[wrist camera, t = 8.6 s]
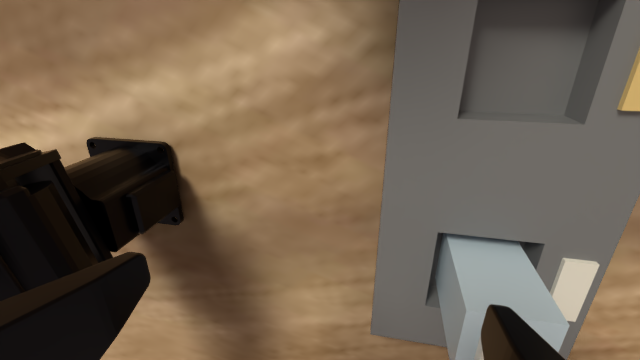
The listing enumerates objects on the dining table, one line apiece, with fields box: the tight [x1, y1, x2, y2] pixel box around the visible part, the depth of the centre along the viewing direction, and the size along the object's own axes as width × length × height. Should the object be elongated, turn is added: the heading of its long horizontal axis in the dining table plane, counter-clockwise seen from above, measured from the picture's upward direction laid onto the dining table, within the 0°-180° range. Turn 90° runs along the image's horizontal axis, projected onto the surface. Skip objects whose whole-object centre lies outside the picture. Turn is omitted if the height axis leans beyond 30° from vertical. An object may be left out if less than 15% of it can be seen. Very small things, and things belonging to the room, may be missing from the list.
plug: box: [435, 233, 570, 360], centre depth 17 cm, size 4×4×8 cm
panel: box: [371, 0, 640, 360], centre depth 18 cm, size 12×24×3 cm, turn 0°
